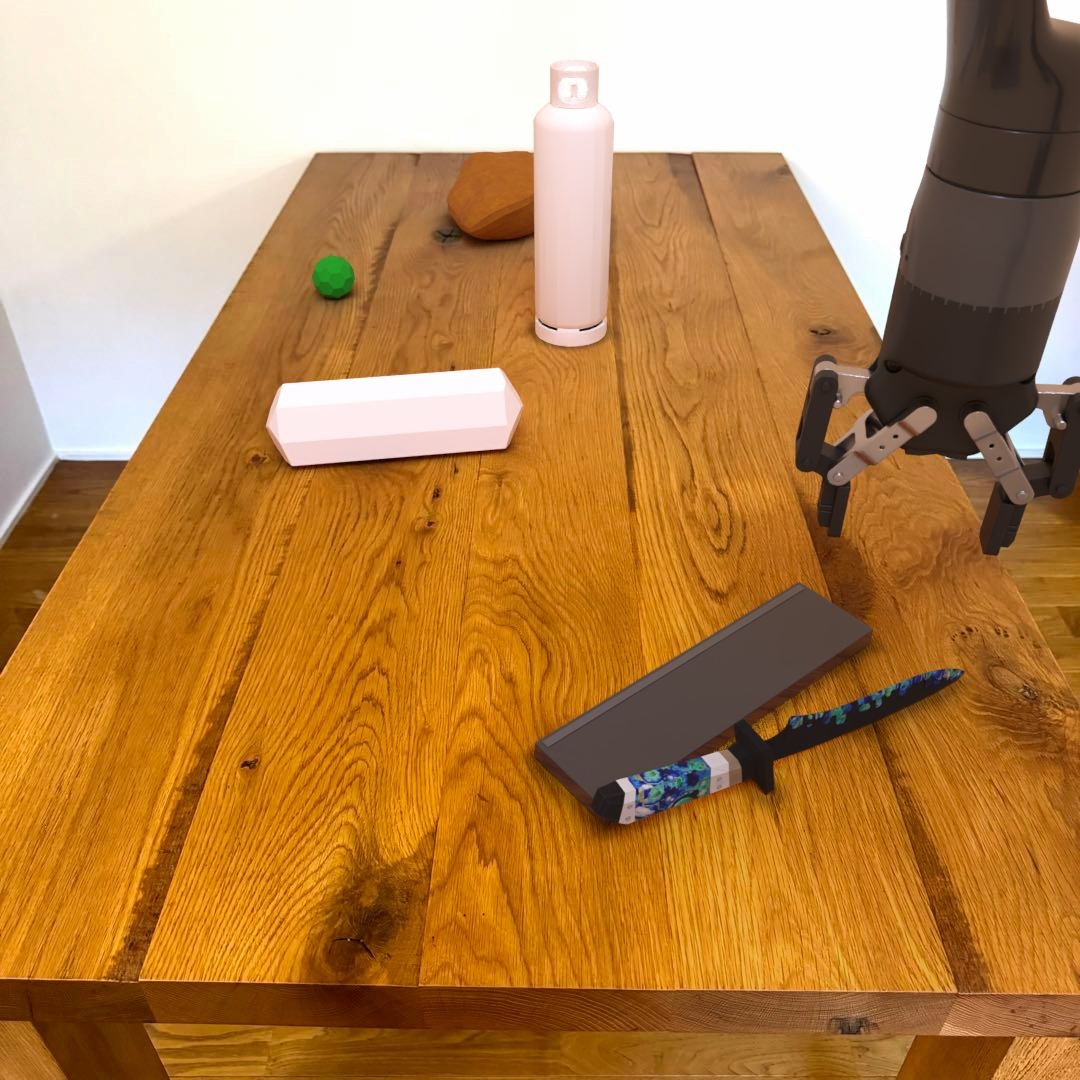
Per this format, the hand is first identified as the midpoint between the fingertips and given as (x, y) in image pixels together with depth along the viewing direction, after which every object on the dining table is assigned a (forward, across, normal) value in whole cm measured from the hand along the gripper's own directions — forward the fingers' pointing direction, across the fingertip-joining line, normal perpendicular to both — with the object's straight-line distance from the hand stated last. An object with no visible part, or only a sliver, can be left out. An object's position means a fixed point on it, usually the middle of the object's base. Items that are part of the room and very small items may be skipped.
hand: (909, 538), depth 59 cm
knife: (+17, -4, -3) cm, 18 cm away
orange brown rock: (+17, -45, +85) cm, 98 cm away
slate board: (+17, -10, +2) cm, 19 cm away
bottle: (+17, -29, +56) cm, 65 cm away
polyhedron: (+17, -59, +60) cm, 86 cm away
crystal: (+17, -41, +30) cm, 53 cm away
